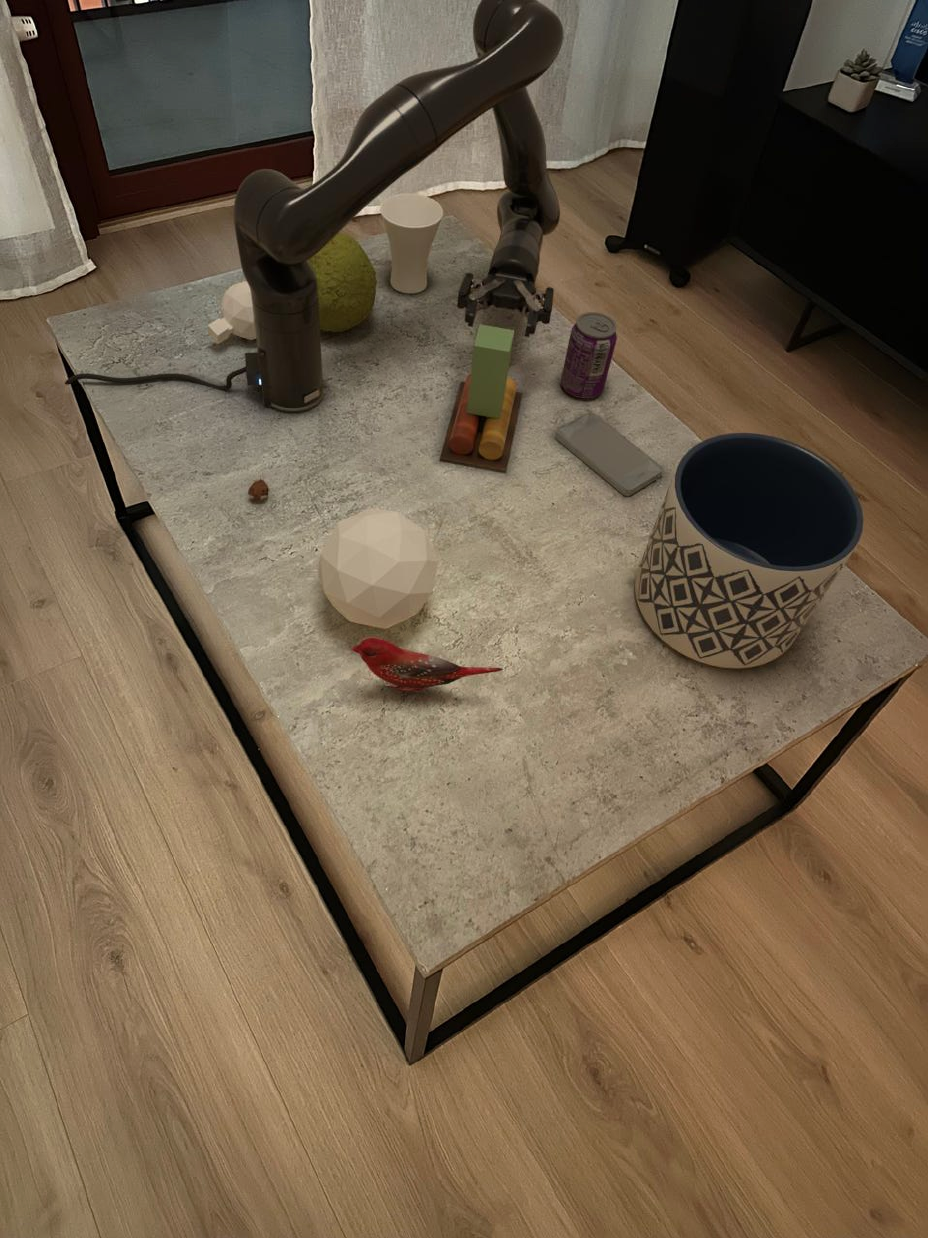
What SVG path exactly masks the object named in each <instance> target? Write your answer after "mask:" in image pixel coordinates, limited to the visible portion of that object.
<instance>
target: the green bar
mask: <svg viewBox="0 0 928 1238" xmlns="http://www.w3.org/2000/svg"><path fill="white" fill-rule="evenodd" d="M476 332H477V333H476V336H475V340H474V344H473V350H472V358H471V359H472V360H471V368H470V374H471V376H470V385H469V394H468V403H467V413H470V414H476V415H481V416H487V417H492V418H498V419H499V418H500V414H501V410H502V405H503V401H504V396H505V389H506V383H507V378H508V375H509V369H510V362H511V356H512V349H513V342H514V336H515V330H514V329H509V328H503V327H496V326H491V325H486V324H480V323H479V326H478V329H477V331H476Z"/></svg>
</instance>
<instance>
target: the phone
mask: <svg viewBox="0 0 928 1238" xmlns="http://www.w3.org/2000/svg"><path fill="white" fill-rule="evenodd" d="M554 437H555V440H557V441H558V442H559V443H560V444H561V445H563V447H565V448H566V449H567V450H568V451H570V452H571V453H572V454H573V455H574V456H575V457H577V458H578V459H579V460H580V461H582V462H583V463H584V464H585V465H586V466H588V467H589V468H590V469H591V470H592V471H594V472H595V473H596V474H597V475H598V476H600V477H601V478H602V479H603V480H604V481H606V482H607V483H608V484H609V485H611V486H612V487H613V488H614V489H616V490H617V492H619V493H620V494H621V495H623V496H624V497H630V496H632V495H634V494H635V493H637V492H639V491H640V490H642V489H644V488H646V487H647V486H649V485H650V484H652V483H654V482H655V481H657V480H659V479H660V478H661V477H662V476H663V473H664V467H663V466H662V465H661V464H659V463H658V462H657V461H656V460H654V459H653V458H652V457H651V456H649V455H648V454H647V453H645V452H644V451H643V450H642V449H640V448H639V447H638V446H637V445H635V444H634V443H633V442H632V441H630V440H629V439H628V438H626V437H625V436H624V435H623V434H621V433H620V432H619V431H617V429H615V428H614V427H612V426H611V425H610V424H608V423H607V421H605V420H604V419H603V418H602V417H600V416H599V415H598V414H596V413H595V412H592V411H589V412H587V413H585V414H583V415H581V416H579V417H577V418H575V419H573V420H572V421H570V422H568V423H566V424H564V425H562V426H560V427H559V428H557V429H556V430H555V435H554Z"/></svg>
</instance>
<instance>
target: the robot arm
mask: <svg viewBox="0 0 928 1238" xmlns="http://www.w3.org/2000/svg"><path fill="white" fill-rule="evenodd" d="M472 37H473V44H474V49H475V52H476V57H477V58H475V59H472V60H470V61H467V62H465V63H460V64H456V65H452V66H446V67H441V68H437V69H432V70H427V71H423V72H420V73H416V74H413V75H411V76H408V77H405V78H403V79H402V80H401V81H399V82H397V83H396V84H394V85H393V86H392V87H390V88H389V89H388V90H386V91H385V92H384V93H382V94H381V95H380V96H378V97H377V98H376V99H374V101H372V103H370V104H369V105H368V106H366V108H365V109H364V110H363V112H362V113H361V115H360V116H359V118H358V120H357V122H356V124H355V127H354V129H353V131H352V134H351V137H350V139H349V142H348V144H347V148H346V149H345V151H344V154H343V156H342V158H340V160H339V161H338V163H337V164H336V165H335V166H334V167H333V168H331V170H330V171H328V172H327V173H326V174H325V175H323V177H321V178H320V179H319V180H317V181H316V182H314V183H313V184H311V185H310V186H308V187H306V188H302V187H301V186H300V185H298V184H297V183H295V181H292V180H291V178H289V177H287V176H286V175H284V174H283V173H282V172H280V171H277V170H274V169H270V168H261V169H257V170H255V171H253V172H252V173H250V174H249V175H247V176H246V177H245V178H244V179H243V181H241V183H240V185H239V187H238V189H237V191H236V195H235V198H234V203H233V223H234V230H235V231H234V232H235V237H236V243H237V249H238V255H239V261H240V266H241V271H242V274H243V276H244V279H245V281H247V283H248V285H249V287H250V291H251V297H252V306H253V315H254V323H255V332H256V339H255V340H256V350H257V351H256V352H245V353H244V361H245V366H244V367H241V368H238V369H236V370H234V371H232V372H230V373H229V374H228V375H227V376H226V378H225V383H226V384H223V385H218V384H213V383H210V382H208V381H205V380H203V379H201V378H198V377H195V376H192V375H189V374H184V373H158V374H151V375H144V376H135V377H116V376H115V377H114V376H108V375H102V374H97V373H96V374H95V373H78V374H74V375H71V376H70V377H69V378H67V379H66V380H65V382H64V385H67V386H68V385H69V386H70V385H71V384H73V383H74V382H76V381H79V380H95V381H101V382H107V383H112V384H113V383H114V384H136V383H145V382H151V381H159V380H173V379H174V380H183V381H189V382H192V383H194V384H197V385H201V386H205V387H209V388H212V389H215V390H219V391H221V392H222V391H223V392H224V391H229V390H230V389H231V388H233V387H232V385H233V383H232V380H233V379H235V377H237V376H240V375H243V374H245V376H246V383H247V386H260V387H261V395H262V402H263V404H262V405H263V407H264V408H273V410H274V409H275V410H277V411H280V412H283V413H284V412H285V413H301V412H305V411H309V410H312V409H313V408H315V407H316V406H318V405H319V404H320V403H321V401H322V400H323V398H324V395H325V388H324V379H323V362H322V361H323V360H322V358H323V357H322V341H321V340H322V339H321V329H320V318H319V299H318V282H317V277H316V275H315V272H314V271H313V269H312V267H311V266H310V264H309V263H308V261H307V260H308V259H310V258H311V257H313V256H314V255H315V254H317V253H318V252H319V251H320V250H321V249H322V248H323V247H324V246H325V245H326V244H327V243H329V242H330V241H331V240H332V239H333V238H334V237H335V236H336V235H337V234H338V233H341V231H342V230H343V229H345V227H346V226H347V225H348V224H349V223H350V222H351V221H352V220H353V219H354V218H356V216H357V215H358V214H359V213H360V212H361V211H363V210H364V208H366V207H367V206H368V205H369V204H371V203H372V202H373V201H374V200H375V199H376V198H378V197H379V196H380V195H381V194H382V193H384V192H385V191H386V190H387V189H388V188H389V187H391V186H392V185H393V184H394V183H395V182H397V181H398V180H399V179H400V178H402V177H403V176H404V175H406V174H407V173H408V172H410V171H412V170H413V169H415V168H416V167H417V166H418V165H419V164H421V163H422V162H423V161H424V160H426V159H427V158H428V157H430V156H431V155H432V154H433V153H435V152H436V151H437V150H439V149H440V148H441V147H442V146H443V145H444V144H445V143H447V142H448V141H449V140H450V139H452V138H453V137H454V136H455V135H456V134H458V133H459V132H461V131H462V130H463V129H464V128H466V127H467V126H468V125H470V124H471V123H473V122H474V121H476V120H477V119H478V118H480V117H481V116H482V115H484V114H485V113H487V112H488V111H490V110H491V109H492V112H493V116H494V120H495V123H496V129H497V134H498V141H499V147H500V158H501V167H502V176H503V182H504V185H505V187H506V188H507V189H508V190H507V191H505V192H504V193H503V194H502V195H501V196H499V197H500V198H499V199H498V202H497V205H496V206H497V207H496V215H497V224H498V227H499V230H500V235H499V238H498V242H497V244H496V246H495V247H494V250H493V253H492V257H491V260H490V265H489V268H488V270H487V271H488V272H487V275H486V277H484V278H483V279H477V278H474V275H475V274H473V272H467V273H465V275H464V278H463V279H462V282H461V285H460V286H459V288H458V291H457V301H456V302H457V303H456V307H457V309H460V310H463V309H465V312H464V323H466V324H467V327H470V328H473V327H474V324H475V320H476V317H477V312H480V311H481V310H482V311H487V310H490V309H491V308H493V307H494V308H498V309H506V310H509V311H515V310H516V312H517V313H518V314H519V315H520V316H521V317H522V318H523V319H524V318H525V319H526V320H527V321H526V325H525V331H524V338H530V335H532V336H533V335H535V333H536V329H537V324H538V323H539V322H541V323H542V324H543V325H549V324H550V322H551V315H552V311H553V303H554V294H555V293H554V292H555V289H554V288H553V287H552V286H547V287H546V288H545V291H544V290H537V288H536V287H535V285H536V281H537V276H538V274H539V267H540V264H541V263H540V262H541V252H542V248H543V243H544V236H549V235H550V234H552V233H553V232H554V231H556V229H557V227H558V226H559V223H560V218H561V208H560V203H559V202H560V201H559V199H558V196H557V194H556V190H555V189H554V186H553V184H552V182H551V180H550V176H549V173H548V166H547V165H548V164H547V148H546V147H547V146H546V137H545V134H544V130H543V127H542V123H541V121H540V118H539V115H538V113H537V111H536V108H535V106H534V104H533V101H532V99H531V97H530V94H529V91H528V89H527V87H528V86H530V85H531V84H533V83H534V82H535V81H537V80H538V79H539V78H541V77H542V76H543V75H544V74H545V73H546V72H547V71H548V70H549V69H550V67H551V66H552V65H553V63H555V60H556V59H557V57H558V55H559V53H560V51H561V49H562V45H563V41H564V26H563V23H562V21H561V19H560V18H559V16H558V15H557V14H556V13H555V12H554V11H553V10H551V9H550V8H549V7H548V6H547V5H545V4H543V3H542V2H540V1H538V0H480V2H479V4H478V5H477V7H476V10H475V14H474V18H473V23H472ZM477 290H478V291H477ZM535 300H537V301H538V303H539V304H540V305H538V304H537V303H536V302H535Z"/></svg>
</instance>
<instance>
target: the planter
mask: <svg viewBox="0 0 928 1238" xmlns="http://www.w3.org/2000/svg"><path fill="white" fill-rule="evenodd" d="M864 521H865V520H864V513H863V508H862V504H861V502H860V500H859V497H858V495H857V493H856V492H855V490H854V487H852V485H851V484H850V482H849V481H848V479H846V477H845V476H844V475H843V474H842V473H841V472H840V471H839V470H838V469H837V468H836V467H835V466H833V465H832V464H831V463H829V462H828V461H827V460H826V459H825V458H823V457H822V456H820V455H819V454H817V453H816V452H814V451H812V450H810V449H808V448H806V447H804V446H802V445H800V444H798V443H795V442H792V441H790V440H787V439H784V438H780V437H776V436H773V435H767V434H762V433H755V432H753V433H752V432H731V433H724V434H719V435H716V436H712V437H709V438H707V439H705V440H703V441H701V442H698V443H697V444H695V445H694V446H692V448H690V449H689V450H688V451H686V453H684V455H683V456H681V458H680V461H679V462H678V464H677V465H676V468H675V471H674V474H673V475H672V478H671V481H670V483H669V486H668V488H667V491H666V493H665V496H664V499H663V501H662V504H661V507H660V510H659V512H658V515H657V517H656V520H655V522H654V525H653V528H652V530H651V533H650V536H649V539H648V541H647V544H646V546H645V549H644V552H643V554H642V557H641V560H640V563H639V565H638V569H637V572H636V575H635V582H634V593H635V599H636V603H637V605H638V609H639V611H640V613H641V615H642V617H643V619H644V620H645V622H646V623H647V625H648V626H649V627H650V629H651V630H652V631H653V632H654V633H655V635H657V637H659V638H660V640H662V641H663V642H664V643H665V644H666V645H668V646H669V647H670V648H672V649H673V650H675V651H676V652H678V653H679V654H681V655H683V656H685V657H687V658H689V659H692V660H694V661H696V662H699V663H702V664H705V665H709V666H711V667H718V668H722V669H723V668H724V669H747V668H753V667H757V666H763V665H765V664H767V663H770V662H771V661H774V660H776V659H777V658H778V657H781V656H782V655H784V653H785V652H786V651H787V650H788V649H789V648H790V647H792V645H793V643H794V642H795V640H796V639H797V637H798V636H799V634H800V633H801V631H802V630H803V628H804V627H805V625H806V624H807V622H808V621H809V620H810V618H811V616H812V615H813V613H814V612H815V610H816V609H817V608H818V606H819V605H820V603H821V601H822V600H823V598H824V597H825V595H826V594H827V592H828V591H829V589H830V588H831V586H832V584H834V582H835V580H836V579H837V577H838V576H839V574H840V572H841V571H842V569H843V568H844V566H845V565H846V563H847V562H848V560H849V559H850V557H851V555H852V554H853V552H854V551H855V549H856V548H857V546H858V545H859V543H860V541H861V538H862V535H863V532H864Z"/></svg>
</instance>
